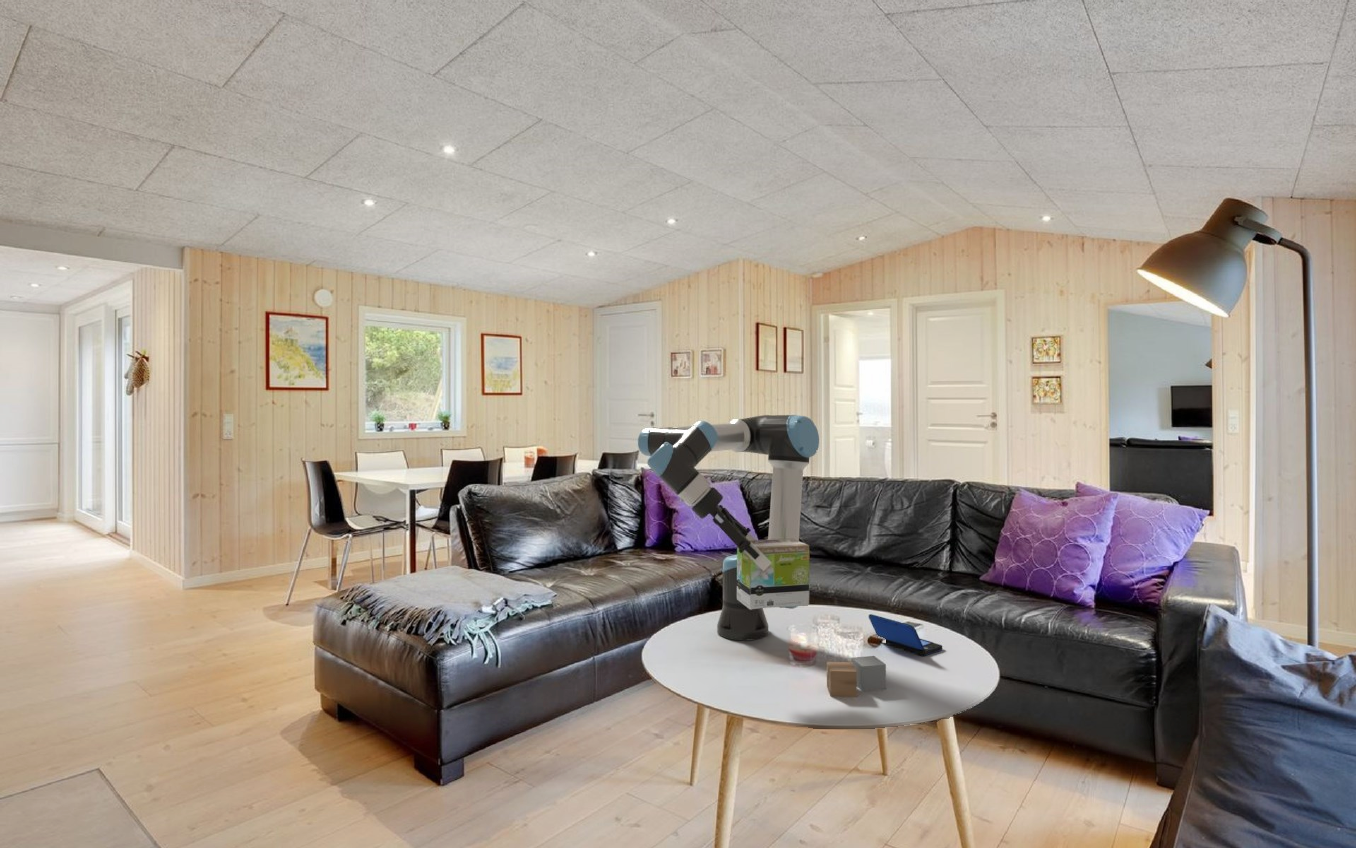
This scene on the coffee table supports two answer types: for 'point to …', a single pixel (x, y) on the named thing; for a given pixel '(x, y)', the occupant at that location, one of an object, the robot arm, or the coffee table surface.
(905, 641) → the handheld game console
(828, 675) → the walnut block
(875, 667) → the slate grey block
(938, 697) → the coffee table surface
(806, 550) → the tea box
